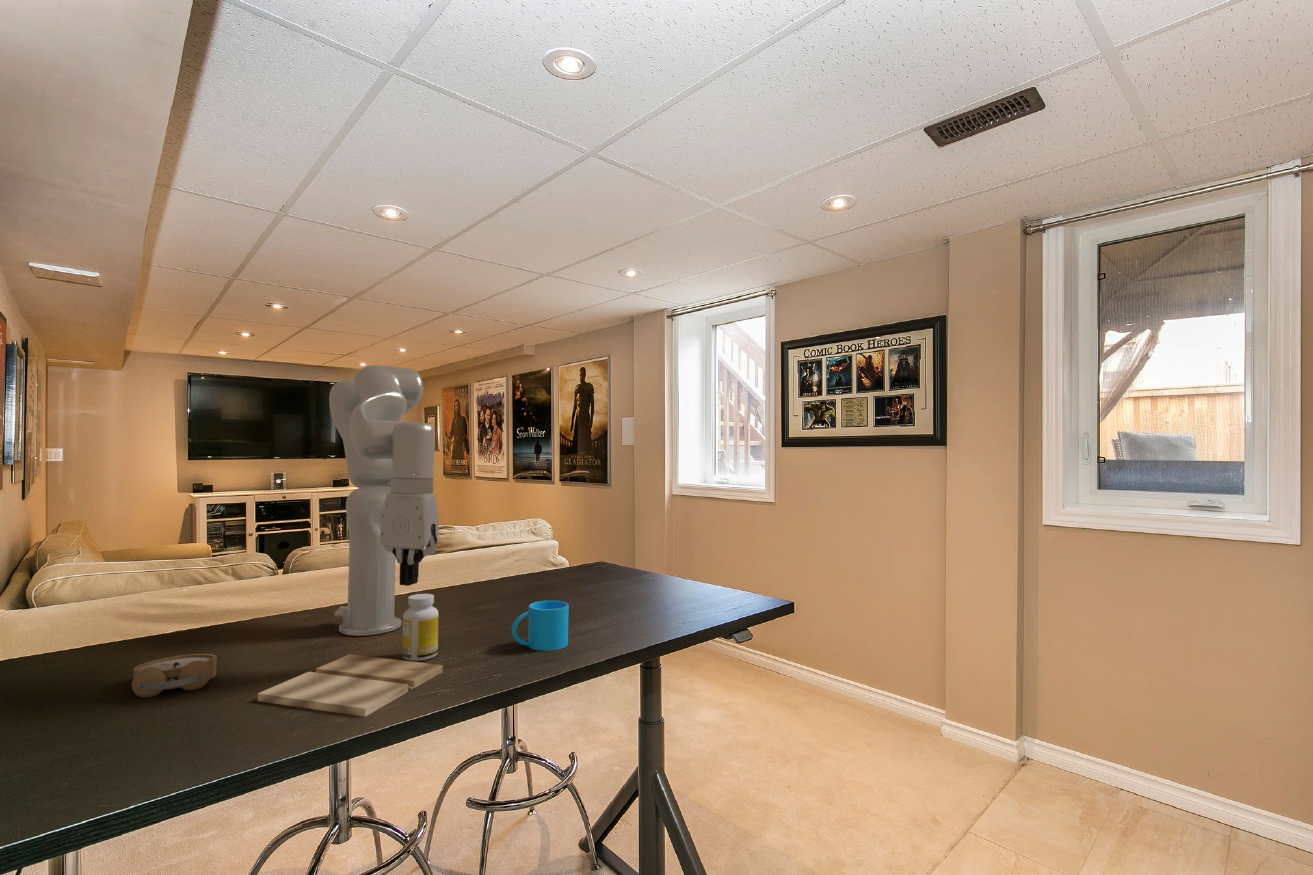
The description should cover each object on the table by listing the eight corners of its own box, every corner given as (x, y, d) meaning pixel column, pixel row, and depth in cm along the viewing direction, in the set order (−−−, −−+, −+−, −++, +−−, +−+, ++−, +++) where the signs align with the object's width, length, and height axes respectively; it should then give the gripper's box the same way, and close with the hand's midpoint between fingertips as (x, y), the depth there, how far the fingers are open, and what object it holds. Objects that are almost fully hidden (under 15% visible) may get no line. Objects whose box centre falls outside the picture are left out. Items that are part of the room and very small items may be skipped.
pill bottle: (444, 653, 120) (446, 594, 121) (422, 664, 114) (423, 601, 114) (417, 649, 122) (419, 591, 123) (394, 659, 116) (395, 598, 117)
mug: (558, 636, 133) (559, 598, 133) (574, 647, 126) (575, 607, 126) (504, 645, 126) (505, 605, 127) (518, 656, 119) (519, 614, 120)
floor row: (311, 677, 107) (311, 670, 107) (349, 660, 115) (349, 654, 115) (410, 690, 102) (410, 682, 102) (442, 671, 110) (442, 665, 110)
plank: (257, 700, 96) (257, 693, 96) (308, 678, 106) (308, 671, 106) (365, 716, 91) (365, 708, 91) (408, 691, 101) (408, 684, 101)
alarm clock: (218, 650, 112) (214, 658, 100) (217, 678, 111) (213, 690, 99) (139, 660, 106) (124, 671, 94) (137, 690, 105) (121, 705, 93)
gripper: (365, 486, 114) (361, 584, 114) (433, 490, 110) (429, 592, 110) (393, 484, 122) (389, 576, 122) (458, 488, 117) (454, 583, 117)
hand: (408, 583), depth 116 cm, fingers closed
